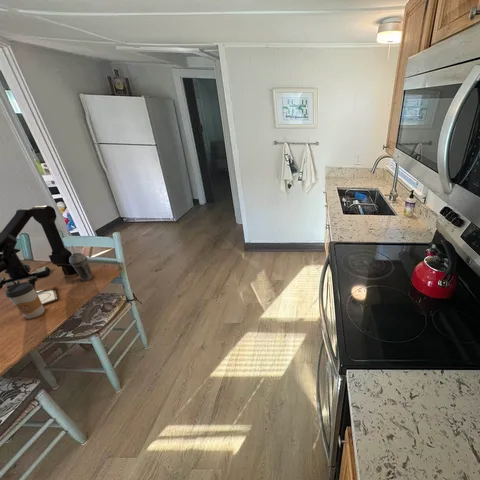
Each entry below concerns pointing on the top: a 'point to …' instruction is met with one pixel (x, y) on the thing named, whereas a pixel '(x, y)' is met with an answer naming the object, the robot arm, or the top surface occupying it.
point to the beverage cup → (81, 265)
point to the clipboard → (47, 296)
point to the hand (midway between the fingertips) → (30, 292)
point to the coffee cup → (25, 299)
